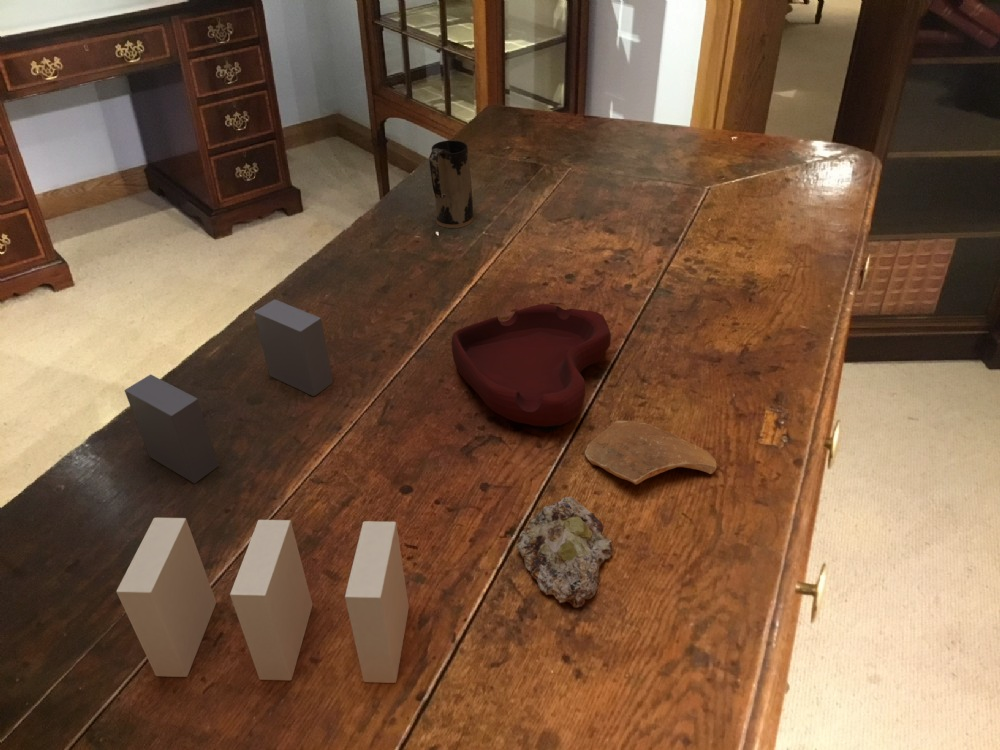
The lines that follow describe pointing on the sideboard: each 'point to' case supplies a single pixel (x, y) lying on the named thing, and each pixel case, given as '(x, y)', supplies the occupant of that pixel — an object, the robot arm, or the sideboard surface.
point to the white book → (272, 599)
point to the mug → (451, 183)
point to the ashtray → (532, 362)
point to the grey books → (177, 415)
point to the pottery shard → (644, 452)
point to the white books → (190, 601)
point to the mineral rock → (565, 551)
